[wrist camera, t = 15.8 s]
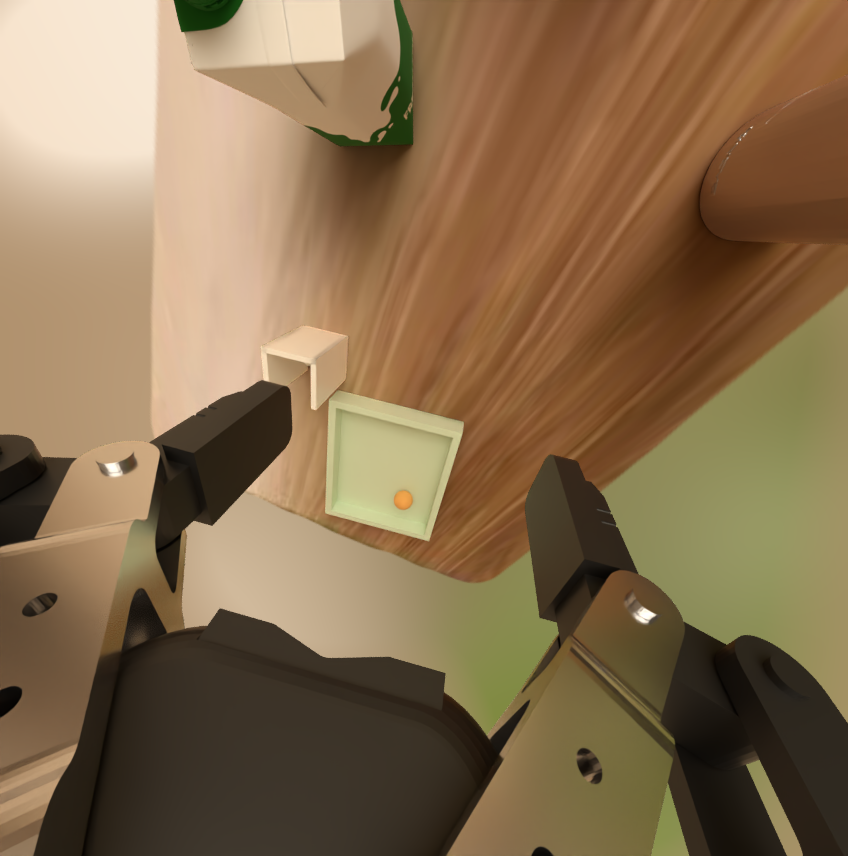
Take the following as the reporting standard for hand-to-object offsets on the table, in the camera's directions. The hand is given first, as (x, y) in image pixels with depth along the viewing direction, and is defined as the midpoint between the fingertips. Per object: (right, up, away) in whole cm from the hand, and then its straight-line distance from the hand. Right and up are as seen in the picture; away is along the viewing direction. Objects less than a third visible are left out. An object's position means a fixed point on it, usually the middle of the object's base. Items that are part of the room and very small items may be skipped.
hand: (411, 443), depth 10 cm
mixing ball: (-3, -11, +40) cm, 42 cm away
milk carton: (-4, +30, +19) cm, 35 cm away
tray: (-5, -5, +40) cm, 41 cm away
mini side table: (-13, +10, +32) cm, 36 cm away
